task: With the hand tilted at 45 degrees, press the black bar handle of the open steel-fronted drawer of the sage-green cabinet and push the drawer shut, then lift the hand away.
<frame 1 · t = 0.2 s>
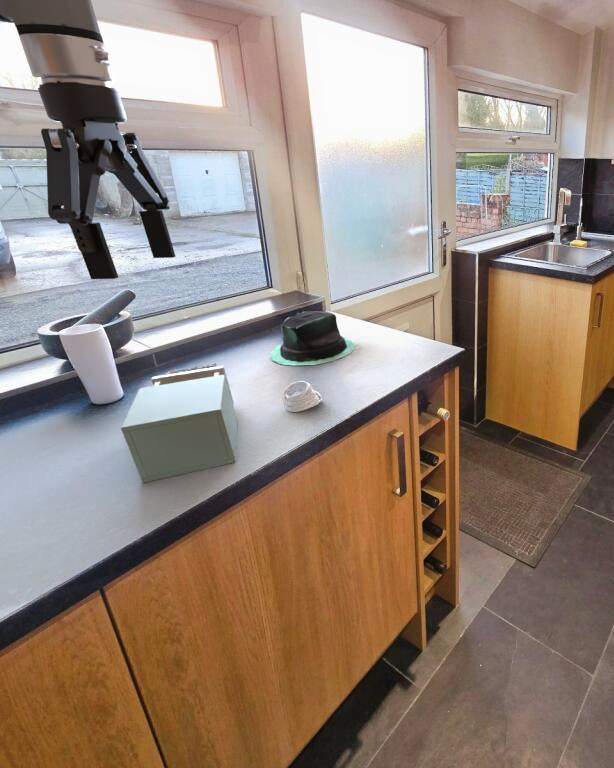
hand: (137, 267, 67), 31 cm above the countertop, tool pointing down, fingers open, 13 cm apart
white ribbed cup: (303, 405, 97), on the countertop
dark green hat: (313, 351, 124), on the countertop
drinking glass: (109, 400, 100), on the countertop
cabinet: (195, 449, 83), on the countertop
drawer: (192, 400, 89), point 5 cm above the countertop, slide at 6.0 cm
egg carton: (192, 388, 105), on the countertop
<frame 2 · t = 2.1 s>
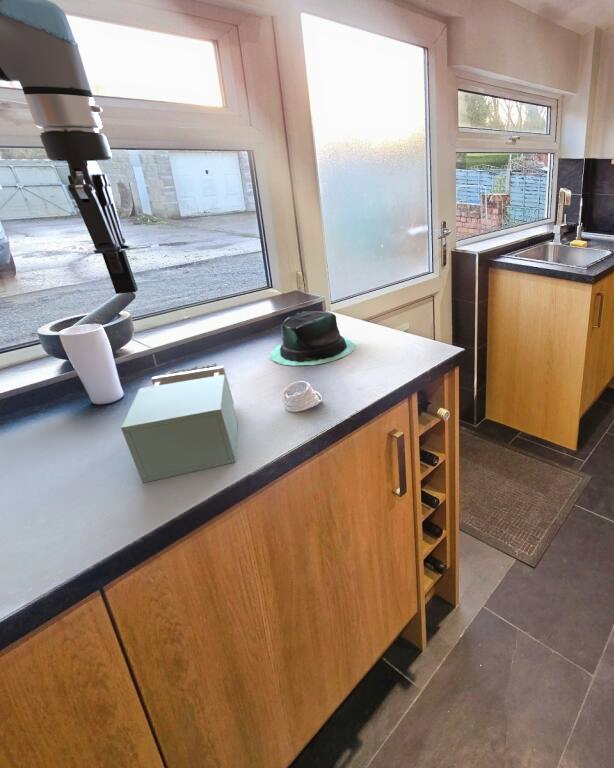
hand: (127, 291, 81), 24 cm above the countertop, tool pointing down, fingers closed
nothing on the countertop moved.
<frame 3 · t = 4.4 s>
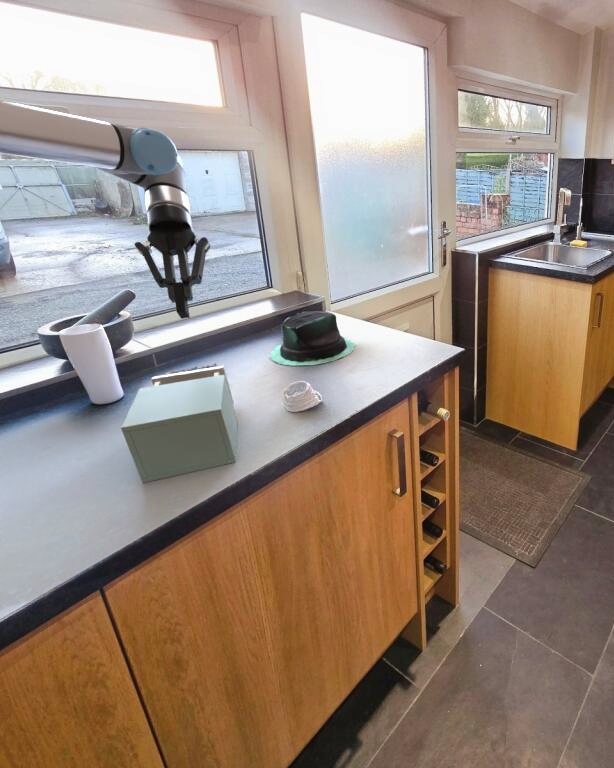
hand: (183, 314, 96), 17 cm above the countertop, tool tilted 45°, fingers closed
nothing on the countertop moved.
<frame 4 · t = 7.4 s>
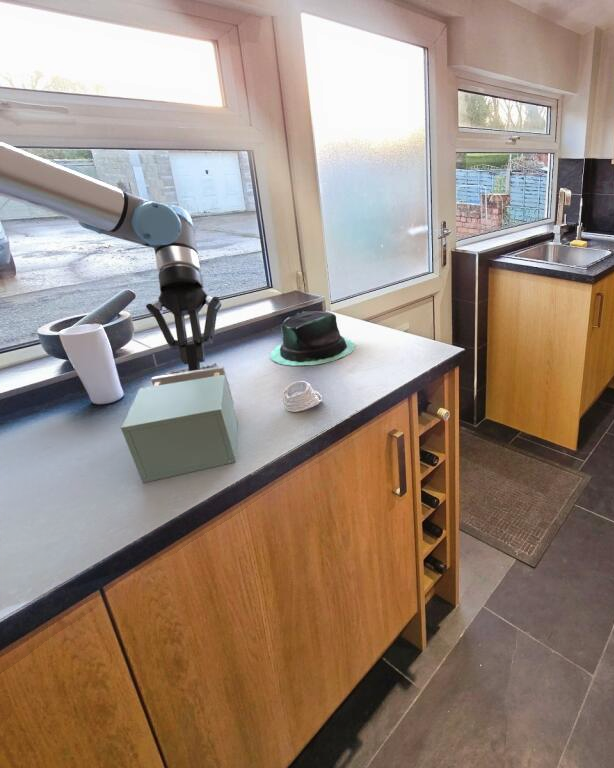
hand: (195, 376, 96), 6 cm above the countertop, tool tilted 45°, fingers closed
drawer: (192, 400, 89), point 5 cm above the countertop, slide at 5.9 cm, touching gripper
everything else where it was.
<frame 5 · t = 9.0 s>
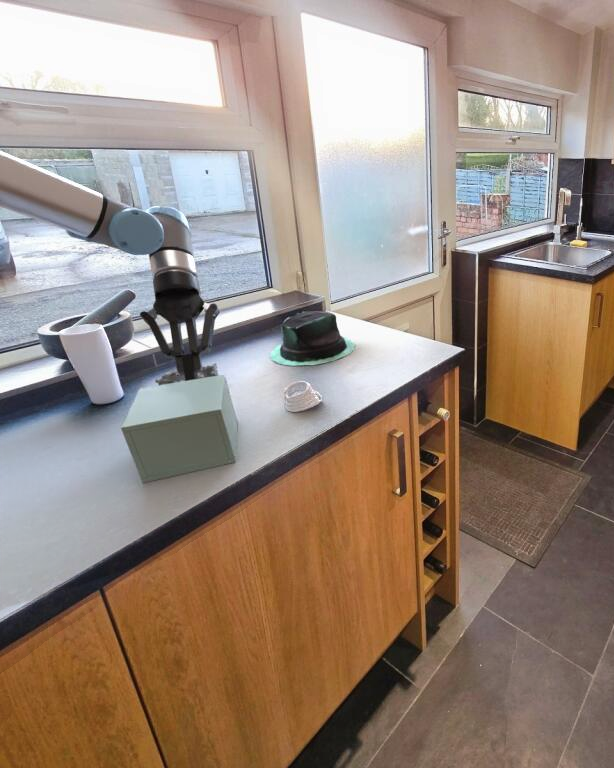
hand: (193, 388, 91), 6 cm above the countertop, tool tilted 45°, fingers closed
drawer: (189, 414, 84), point 5 cm above the countertop, slide at 0.0 cm, touching cabinet, gripper
everything else where it was.
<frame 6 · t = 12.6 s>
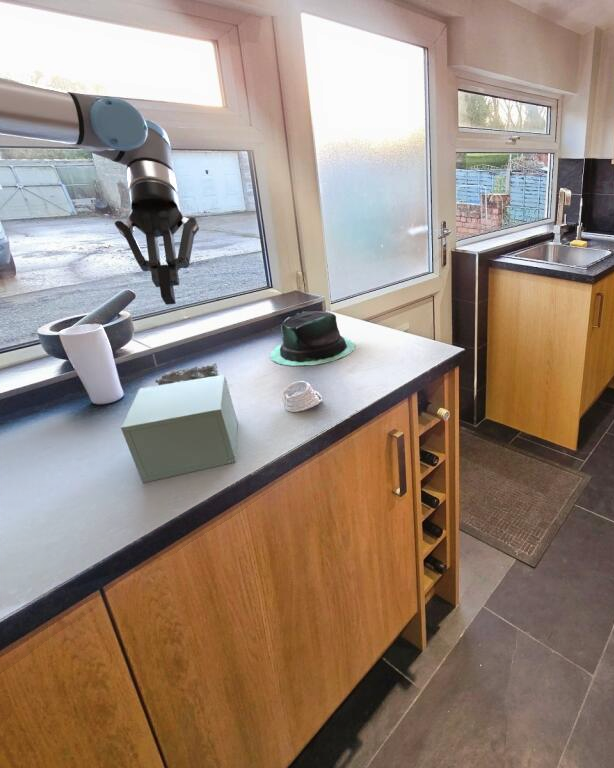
hand: (168, 300, 87), 21 cm above the countertop, tool tilted 45°, fingers closed
drawer: (189, 414, 84), point 5 cm above the countertop, slide at 0.0 cm, touching cabinet
everything else where it was.
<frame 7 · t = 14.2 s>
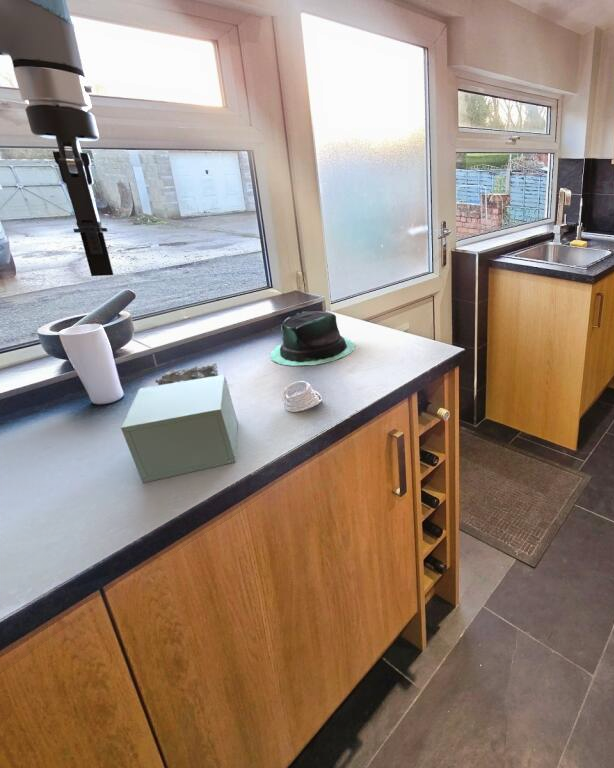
hand: (102, 275, 79), 27 cm above the countertop, tool pointing down, fingers closed
nothing on the countertop moved.
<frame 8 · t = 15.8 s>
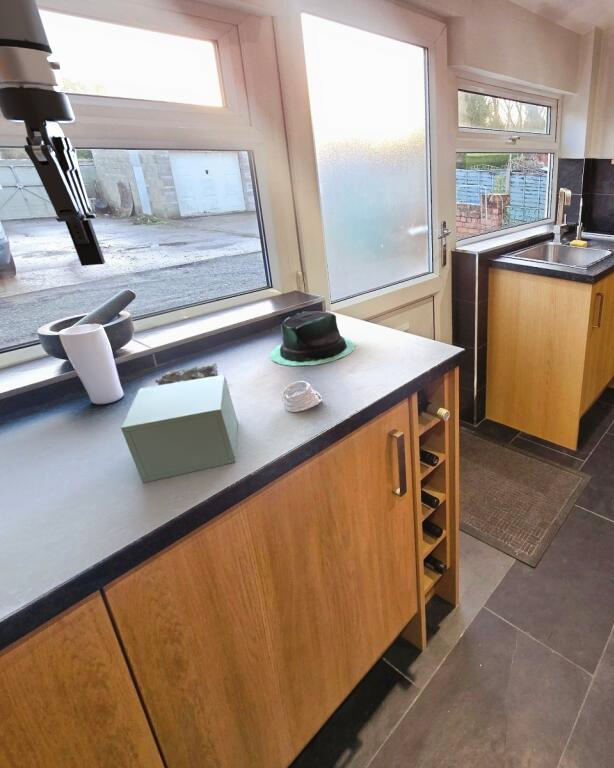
hand: (93, 263, 77), 29 cm above the countertop, tool pointing down, fingers closed
nothing on the countertop moved.
at the end: drawer slide at 0.0 cm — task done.
